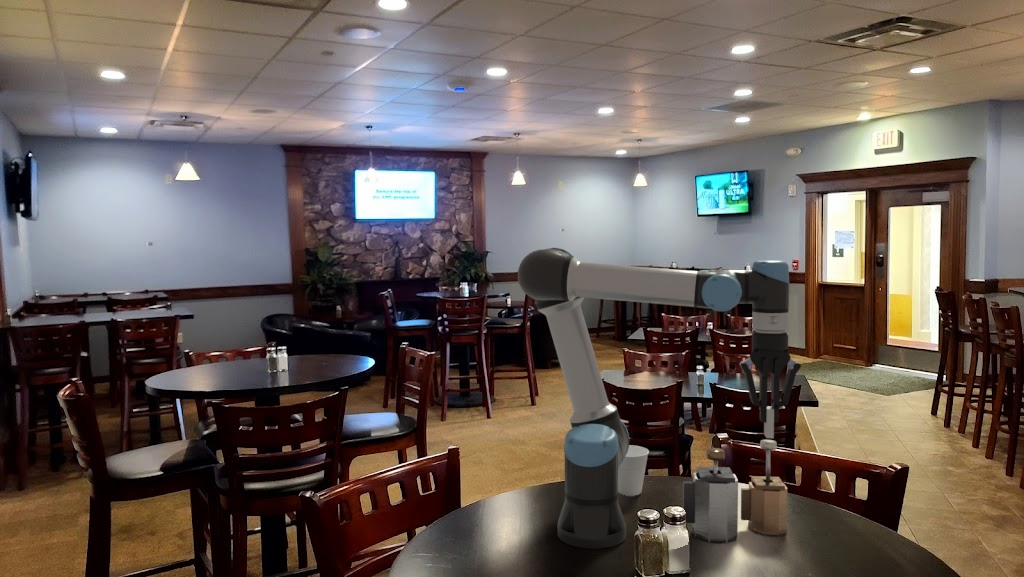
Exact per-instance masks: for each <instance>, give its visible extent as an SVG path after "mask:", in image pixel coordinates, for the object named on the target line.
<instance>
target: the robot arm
mask: <svg viewBox="0 0 1024 577" xmlns="http://www.w3.org/2000/svg"><path fill="white" fill-rule="evenodd" d="M518 266H519V267H518V269H517V280H518V284H519V287H520V289H521V290H522V291H523V293H524V294H526V295H527V296H528V297H530V298H531V299H534V303H535V306H536V308H537V311H538V312H539V313H541V314H543V315H544V316H545V317H546V320H547V324H548V327H549V331H550V334H551V337H552V340H553V345H554V349H555V351H556V356H557V359H558V362H559V366H560V368H561V372H562V376H563V378H564V382H565V385H566V389H567V392H568V393H567V394H568V397H569V400H570V402H571V406H572V411H573V413H572V415H571V416H570V419H569V423H570V426H571V428H570V429H569V430H568V431H567V432H566V434H565V437H564V442H563V443H564V444H563V452H564V503H563V505H562V508H561V511H560V514H559V518H558V521H557V530H556V531H557V537H558V539H560V540H561V541H562V542H564V543H565V544H568V545H570V546H573V547H576V548H579V549H580V548H581V549H588V550H589V549H592V550H595V549H596V550H597V549H600V550H601V549H606V548H612V547H615V546H618V545H619V544H622V543H623V542H624V541H625V540H626V539H627V525H626V520H625V518H624V516H623V515H624V514H623V512H622V509H621V507H620V504H619V492H618V468H619V466H620V464H621V462H622V461H623V459H624V457H625V455H626V454H627V451H628V448H629V445H630V435H629V434H630V433H629V432H628V428H627V426H626V425H625V422H623V421H622V420H621V417H620V414H619V411H618V408H617V406H616V405H614V404H612V403H611V402H610V401H609V398H608V395H607V392H606V389H605V385H604V382H603V379H602V376H601V372H600V368H599V364H598V362H597V358H596V354H595V351H594V348H593V347H594V346H593V344H592V340H591V338H590V337H591V336H590V334H589V330H588V326H587V324H586V323H587V322H586V320H585V316H584V313H583V310H582V303H583V301H584V300H585V298H586V299H600V300H611V301H612V300H613V301H620V302H622V301H623V302H624V301H625V302H635V303H646V304H649V303H650V304H656V305H670V306H681V307H690V308H691V307H692V308H699V309H700V308H701V309H711V310H713V311H715V312H727V311H728V312H729V311H730V310H732V309H733V308H735V307H736V306H737V305H738V304H739V305H740V304H743V305H744V304H745V305H748V304H750V305H751V304H752V309H751V310H752V320H751V322H752V323H751V328H752V329H753V331H752V332H751V352H749V356H748V358H747V359H745V360H741V361H739V363H738V364H739V367H740V368H741V370H742V371H743V374H744V378H745V381H746V386H747V390H748V395H749V399H750V402H751V403H752V404H753V406H757V407H759V421H760V422H761V423H763V435H764V436H765V438H766V439H775V438H774V437H775V433H774V432H775V423H778V422H779V416H780V413H779V412H780V409H781V407H787V406H788V405H789V401H790V399H791V398H790V397H791V394H792V390H793V386H794V383H795V378H796V375H797V373H798V372H799V371H800V370H801V367H802V366H801V363H800V362H798V361H795V360H793V359H792V358H791V355H790V353H789V333H788V332H787V330H789V308H790V307H789V305H790V304H789V302H790V273H789V272H790V271H789V270H790V269H789V264H788V263H787V262H785V261H784V260H770V259H769V260H755V261H754V262H752V267H751V269H702V270H699V271H698V270H687V269H686V270H685V269H672V268H671V269H670V268H661V267H658V268H657V267H645V266H633V265H620V264H607V263H606V264H605V263H595V262H594V263H593V262H581V261H579V259H577V257H575V256H574V255H573V254H572V253H570V251H568V250H565V249H563V248H559V247H551V248H545V249H536V250H533V251H531V252H530V253H528V254H526V256H525V257H523V259H522V260H521V262H520V263H519V265H518ZM752 365H754V367H755V368H756V370H758V376H759V383H758V384H759V392H758V394H759V396H758V394H757V390H756V386H755V382H754V377H753V373H752V368H753V366H752ZM786 366H787V372H786V375H785V379H784V384H783V386H782V390H781V395H780V389H781V388H780V387H781V386H780V384H781V383H780V382H781V381H780V380H781V372H782V371H783V370H784V369H785V368H786ZM769 374H770V376H771V385H770V386H771V389H770V390H771V391H770V392H771V394H770V396H771V397H770V398H771V400H770V404H771V406H769V405H768V378H769ZM758 397H759V398H758Z"/></svg>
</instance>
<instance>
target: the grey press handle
mask: <svg viewBox="0 0 1024 577" xmlns="http://www.w3.org/2000/svg"><path fill="white" fill-rule="evenodd" d="M759 445H760V449H762V450H765V457H766V458H765V477H766V481H767V482H770V477H771V451H776V450H777V445H778V442H777V441H776V440H772V439H761V440H760V444H759ZM754 487H755V486H754ZM767 491H779V490H767Z"/></svg>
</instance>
